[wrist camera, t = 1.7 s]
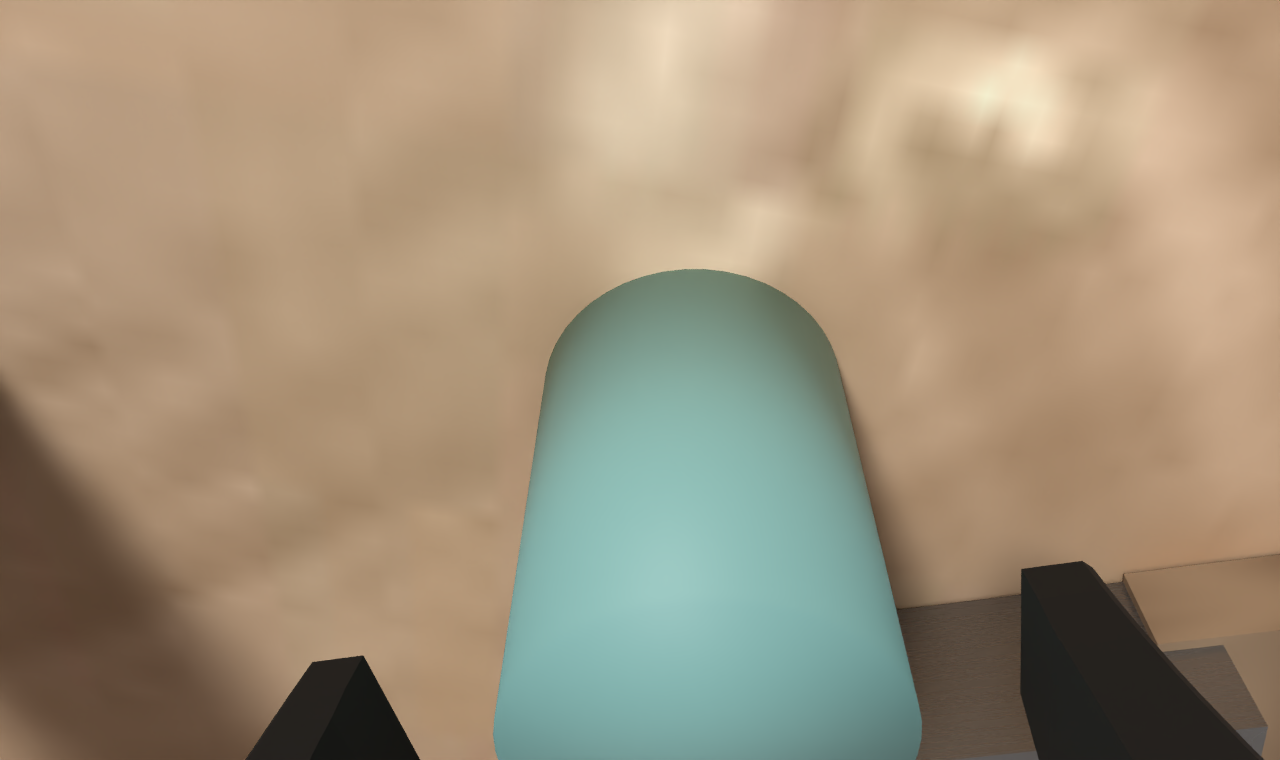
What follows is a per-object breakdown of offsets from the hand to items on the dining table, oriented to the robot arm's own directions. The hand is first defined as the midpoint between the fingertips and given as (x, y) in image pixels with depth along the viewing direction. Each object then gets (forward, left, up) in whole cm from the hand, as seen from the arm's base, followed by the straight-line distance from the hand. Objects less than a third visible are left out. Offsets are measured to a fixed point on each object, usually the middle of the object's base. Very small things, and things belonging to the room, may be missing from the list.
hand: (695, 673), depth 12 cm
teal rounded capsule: (0, 0, -5) cm, 5 cm away
